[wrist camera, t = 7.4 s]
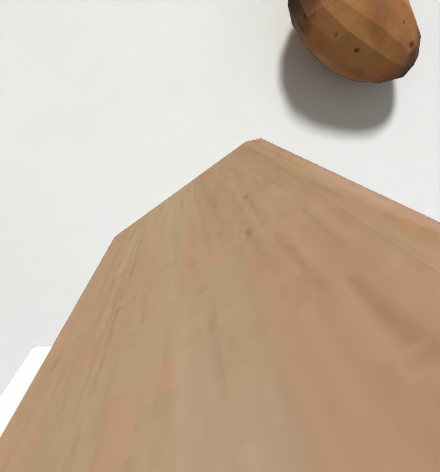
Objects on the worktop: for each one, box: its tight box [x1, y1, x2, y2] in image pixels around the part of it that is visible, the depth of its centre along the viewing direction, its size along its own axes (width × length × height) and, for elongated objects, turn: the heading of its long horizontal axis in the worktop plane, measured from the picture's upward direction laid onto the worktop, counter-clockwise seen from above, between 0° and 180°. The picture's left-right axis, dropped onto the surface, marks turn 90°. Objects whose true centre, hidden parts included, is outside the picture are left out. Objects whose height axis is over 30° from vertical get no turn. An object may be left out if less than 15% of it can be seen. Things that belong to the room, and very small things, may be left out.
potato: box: [288, 0, 421, 83], centre depth 32 cm, size 8×13×8 cm
